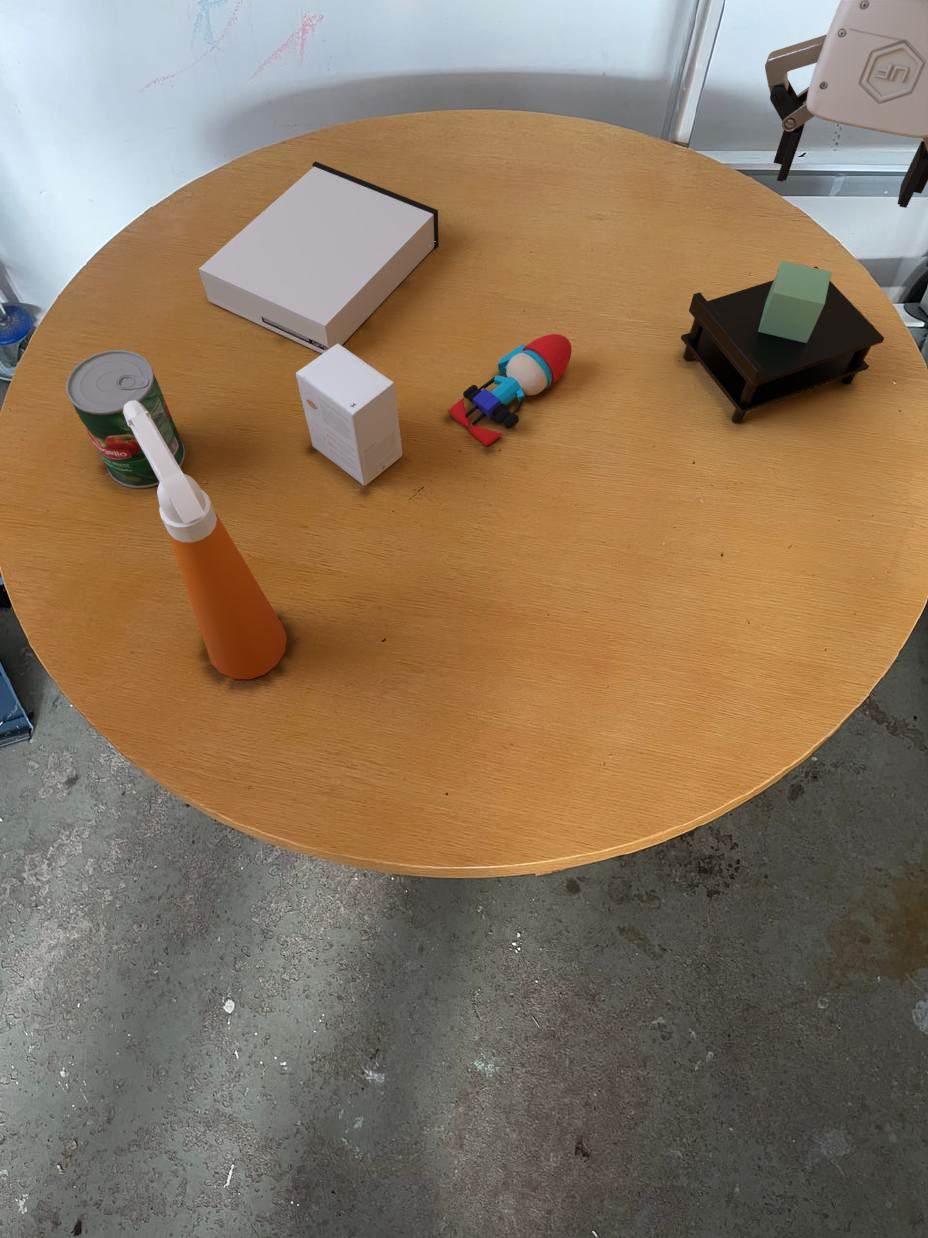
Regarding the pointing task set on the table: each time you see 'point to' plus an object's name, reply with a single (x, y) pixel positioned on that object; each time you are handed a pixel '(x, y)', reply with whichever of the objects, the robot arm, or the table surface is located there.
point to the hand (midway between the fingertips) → (842, 184)
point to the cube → (795, 301)
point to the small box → (351, 413)
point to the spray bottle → (211, 566)
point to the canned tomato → (121, 412)
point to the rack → (775, 347)
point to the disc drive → (321, 257)
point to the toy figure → (515, 383)
